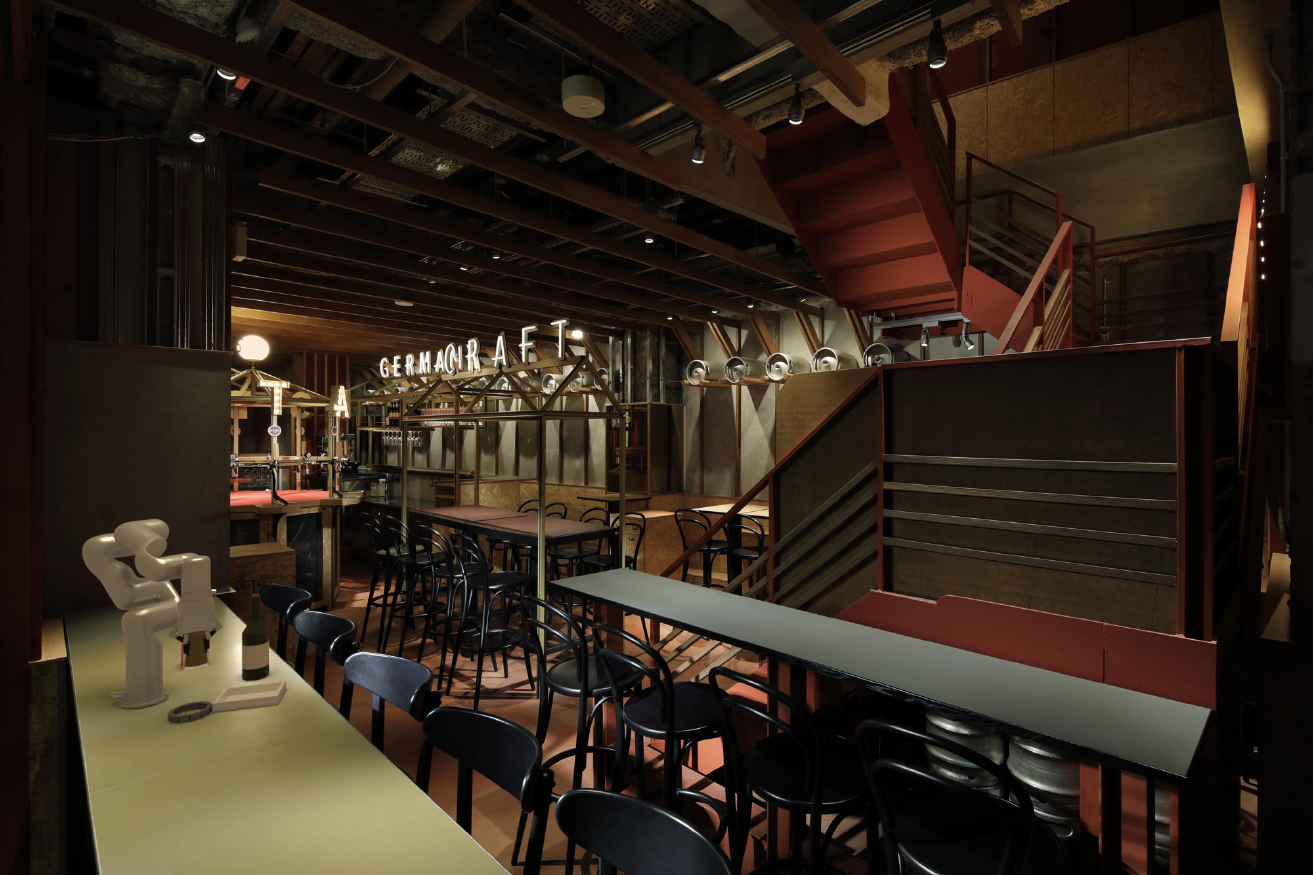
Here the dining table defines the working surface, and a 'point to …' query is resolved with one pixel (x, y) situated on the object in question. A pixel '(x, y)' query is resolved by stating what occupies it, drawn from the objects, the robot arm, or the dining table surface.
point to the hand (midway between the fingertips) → (196, 652)
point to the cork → (196, 650)
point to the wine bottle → (255, 644)
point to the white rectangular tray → (249, 696)
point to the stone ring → (176, 718)
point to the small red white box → (185, 657)
